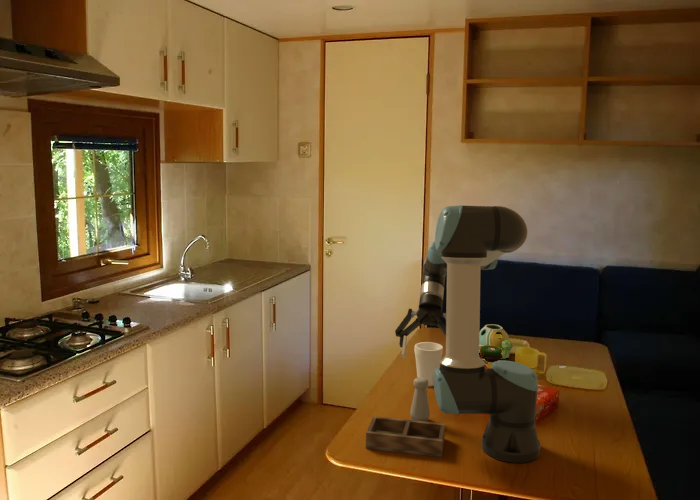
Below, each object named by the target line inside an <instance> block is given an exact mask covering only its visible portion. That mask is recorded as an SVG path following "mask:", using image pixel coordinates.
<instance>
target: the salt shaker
mask: <svg viewBox="0 0 700 500" xmlns="http://www.w3.org/2000/svg"><path fill="white" fill-rule="evenodd" d="M412 385H413V387H414V388H415V389H414V392H413V396H412V402H411V406H410V411H409V415H410V418H411V420H414V421H423V422H428V420H429V418H430V415H431V413H430V412H431V411H430V405H429V400H428V399H429V397H428V393H427V392H428V391H427V388H428V387H429V386H428V380H427V379H426V378H423V377H416V378H414V380H413V384H412Z"/></svg>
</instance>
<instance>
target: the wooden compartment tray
mask: <svg viewBox="0 0 700 500" xmlns="http://www.w3.org/2000/svg"><path fill="white" fill-rule="evenodd" d="M445 433H446V423H440V422H432V421H427V422H423V421H414V420H412V419H403V418H394V417H386V416H377V415H376V416H375V415H373V416H372V417H371V420H370V423H369V425H368V427H367V430H366V432H365V448H366V449H370V450H376V451H377V450H378V451H386V452H387V451H388V452H395V453H402V454H403V453H404V454H412V455H420V456H427V457H428V456H430V457H435V458H436V457H437V458H442V456H443V451H444V443H445V438H446V437H445V435H446V434H445Z"/></svg>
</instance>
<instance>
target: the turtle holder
mask: <svg viewBox="0 0 700 500" xmlns="http://www.w3.org/2000/svg"><path fill="white" fill-rule="evenodd" d="M496 334H501V335H502V338H497V337H496ZM510 340H511V339H510V337H509V334H508V332H507V331H505V329H504V328H503V327H502V326H501V325H499V324H493V323H491V324H485V325H484V326H483V327H482V328H481V329H480V332H479V353H480V346H484V345H490V346H496V347H500V348H502V350H503V359H502V360H507V359H506V358H509V357H510V353H511V350H512V348H513V347H514V346H513V343H512V341H510ZM509 359H510V358H509Z"/></svg>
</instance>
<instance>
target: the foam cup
mask: <svg viewBox="0 0 700 500" xmlns="http://www.w3.org/2000/svg"><path fill="white" fill-rule="evenodd" d="M443 352H444V347H443V345H442V344H440V343H437V342H431V341H424V342H422V341H421V342H417V343H415V344H414V356H415V358H414V359H415V367H416V376H417V377H416V378H418V377H423V378H426V379H427V380H428V387H434V382H433V371H434V369H436V368H440V360H441V359H442V358H443V356H442V355H443Z"/></svg>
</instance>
